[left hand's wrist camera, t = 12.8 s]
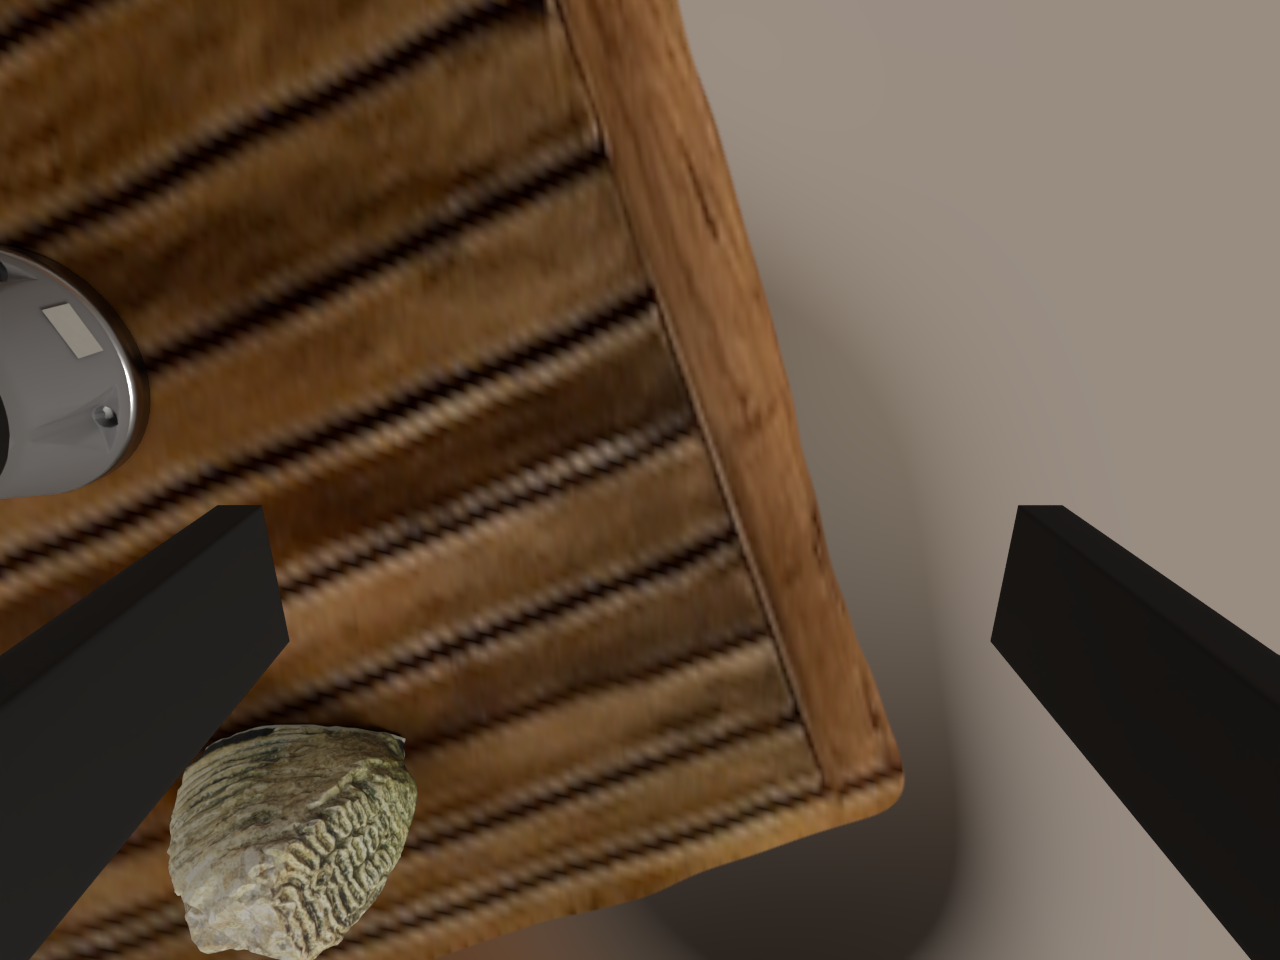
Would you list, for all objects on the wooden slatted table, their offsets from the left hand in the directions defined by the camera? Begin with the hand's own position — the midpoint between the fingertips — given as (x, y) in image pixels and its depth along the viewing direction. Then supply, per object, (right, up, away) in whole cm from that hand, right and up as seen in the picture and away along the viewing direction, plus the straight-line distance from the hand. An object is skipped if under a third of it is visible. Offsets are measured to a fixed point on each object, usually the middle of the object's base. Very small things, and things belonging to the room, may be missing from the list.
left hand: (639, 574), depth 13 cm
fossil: (-25, -20, +43) cm, 54 cm away
